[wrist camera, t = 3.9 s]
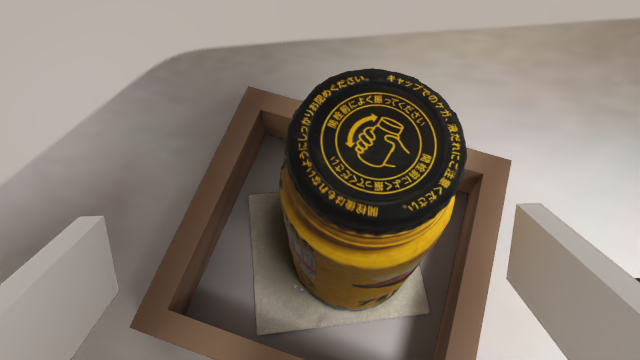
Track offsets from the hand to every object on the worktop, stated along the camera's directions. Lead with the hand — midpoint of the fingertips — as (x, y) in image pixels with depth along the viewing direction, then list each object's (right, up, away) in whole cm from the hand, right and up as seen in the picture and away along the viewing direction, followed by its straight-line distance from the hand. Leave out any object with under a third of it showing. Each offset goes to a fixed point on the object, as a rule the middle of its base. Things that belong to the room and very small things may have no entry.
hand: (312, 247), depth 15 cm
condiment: (+1, -2, +9) cm, 9 cm away
